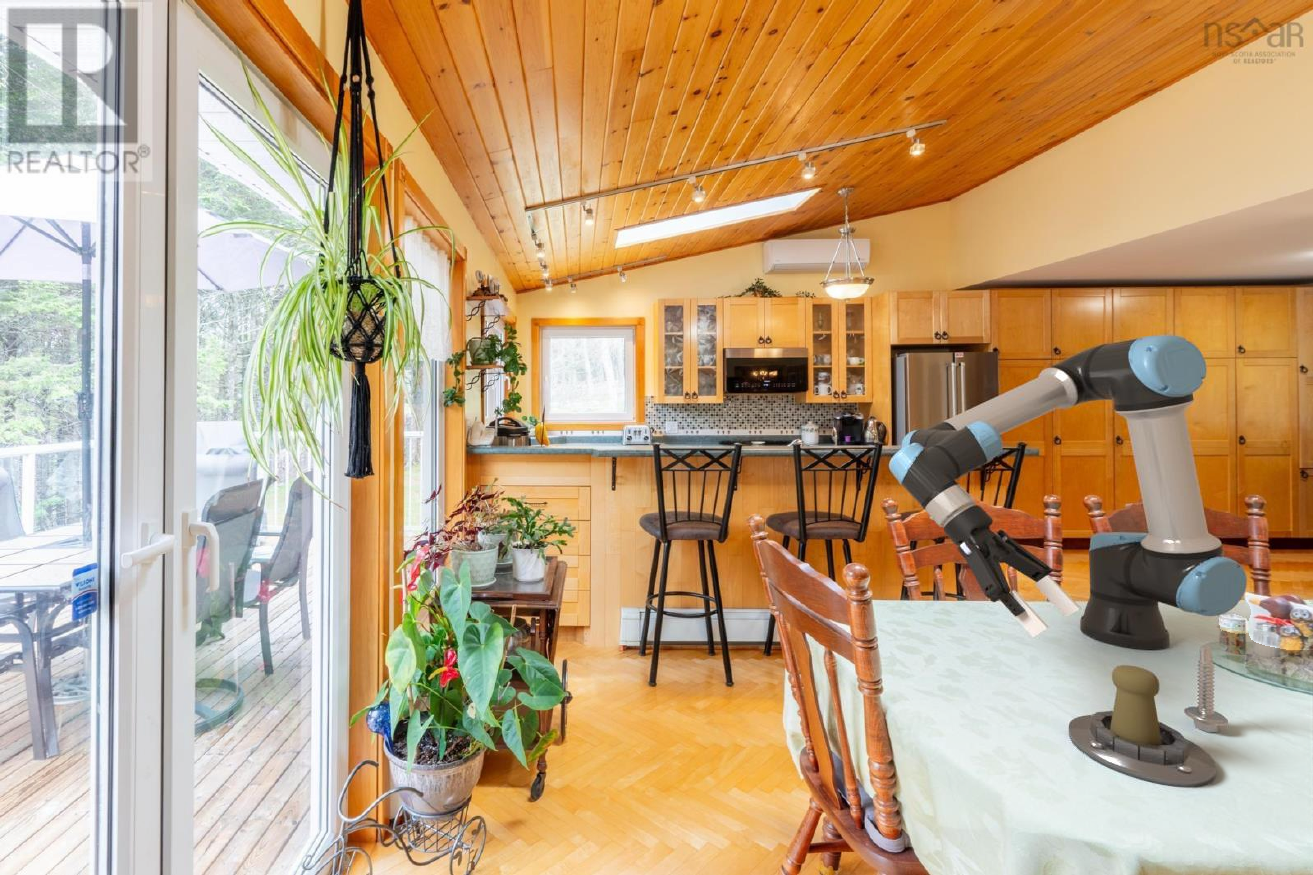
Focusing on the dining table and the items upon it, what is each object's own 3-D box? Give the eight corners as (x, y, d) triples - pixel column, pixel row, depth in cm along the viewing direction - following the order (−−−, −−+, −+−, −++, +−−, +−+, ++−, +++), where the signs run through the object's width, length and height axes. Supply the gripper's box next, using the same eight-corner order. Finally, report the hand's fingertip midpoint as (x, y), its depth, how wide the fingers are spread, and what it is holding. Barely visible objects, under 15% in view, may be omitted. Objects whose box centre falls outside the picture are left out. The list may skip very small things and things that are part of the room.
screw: (1185, 730, 86) (1182, 717, 90) (1230, 741, 83) (1225, 727, 87) (1186, 646, 86) (1183, 637, 90) (1230, 654, 83) (1225, 644, 87)
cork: (1168, 761, 76) (1168, 681, 76) (1112, 749, 80) (1112, 672, 79) (1157, 740, 82) (1157, 665, 81) (1105, 729, 85) (1105, 657, 85)
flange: (1134, 718, 90) (1134, 699, 90) (1250, 781, 74) (1250, 757, 74) (1042, 726, 88) (1042, 706, 88) (1140, 792, 72) (1141, 767, 72)
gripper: (976, 521, 110) (1066, 617, 98) (908, 538, 95) (1005, 653, 83) (1005, 496, 106) (1104, 594, 94) (939, 510, 91) (1046, 628, 79)
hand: (1058, 622), depth 89 cm, fingers open, 13 cm apart
